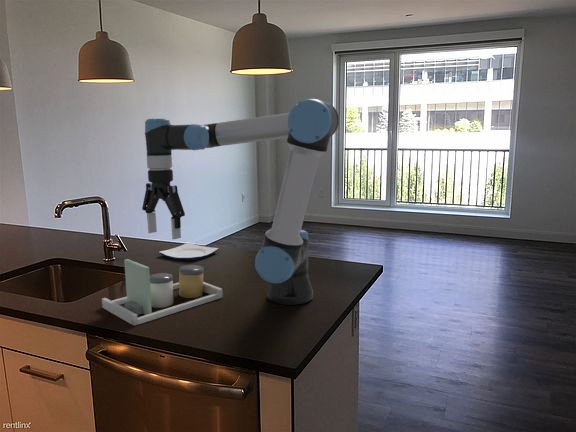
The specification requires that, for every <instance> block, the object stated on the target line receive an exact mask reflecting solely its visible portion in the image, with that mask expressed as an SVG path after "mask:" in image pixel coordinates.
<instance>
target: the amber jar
mask: <svg viewBox="0 0 576 432" xmlns="http://www.w3.org/2000/svg"><path fill="white" fill-rule="evenodd" d="M204 270H205V268H204V267H203V266H201V265H198V264H187V265H186V264H185V265H182V266H179V268H178V273H179V274H178V282H179V288H178V296H179V297H181V298H185V299H198V298H199V297H200V298H201V297H203V294H204V292H203V282H204V273H205V271H204Z"/></svg>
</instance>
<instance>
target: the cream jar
mask: <svg viewBox="0 0 576 432" xmlns="http://www.w3.org/2000/svg"><path fill="white" fill-rule="evenodd" d="M173 279H174V275H173V274H171V273H168V272H159V273H158V272H157V273H153V274H150V289H151V306H152V308H155V309H159V308H160V309H162V308H169V307H170V306H171V307H172V305H174V299H175V298H174V290H173V284H174V281H173Z"/></svg>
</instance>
